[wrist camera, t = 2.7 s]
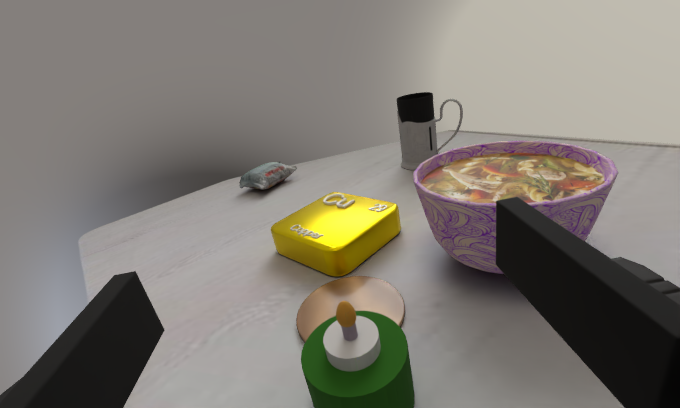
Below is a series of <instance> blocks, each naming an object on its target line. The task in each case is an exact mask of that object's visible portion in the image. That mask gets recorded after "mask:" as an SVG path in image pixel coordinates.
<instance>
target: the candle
mask: <svg viewBox="0 0 680 408" xmlns="http://www.w3.org/2000/svg"><path fill="white" fill-rule="evenodd" d="M301 363H302V369H303V372H304V376H305V379H306V382H307V385H308V388H309V392H310V395H311V398H312V401H313V404H314V408H413V407H414V389H413V381H412V374H411V367H410V359H409V352H408V345H407V340H406V337H405V334H404V333H403V331H402V329H401V328H400V327H399V326H398V324H397V323H396V322H394V321H393V320H392V319H390V318H389V317H387V316H385V315H382V314H380V313H376V312H371V311H355V309H354V308H353V306H352V305H351V304H350V303H349V302H347V301H341V302H340V303H339V304H338V306H337V310H336V316H334V317H332V318H330V319H328V320H326V321H325V322H323V323H322V324H320V325H319V326H318V327H317V328H316V329H315V330H314V331H313V332H312V333H311V334H310V336H309V337H308V339H307V340H306V342H305V344H304V347H303V350H302V356H301Z"/></svg>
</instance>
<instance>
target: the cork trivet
mask: <svg viewBox="0 0 680 408" xmlns="http://www.w3.org/2000/svg"><path fill="white" fill-rule="evenodd" d="M341 301H347V302H349V303H350V304H351V305H352V306H353V308H354V309H355V311H371V312H376V313H380V314H382V315H385V316H387V317H389V318H390V319H392V320H393V321H394V322H396V323H397V324H398V326H399V327H401V324H402V322H403V319H404V315H405V307H404V301H403V298H402V296H401V294H400V293H399V292H398V290H397V289H396V288H395V287H393V286H392V285H391V284H389V283H387V282H385V281H383V280H381V279H377V278H373V277H366V276H353V277H346V278H341V279H337V280H334V281H332V282H329V283H327V284H325V285H323V286H321V287H319V288H318V289H316V290H315V291H314V292H312V293H311V294H310V295H309V296H308V297H307V298H306V299H305V301H304V302H303V303H302V305H301V307H300V309H299V311H298V314H297V328H298V332H299V334H300V336H301V338H302V340H303V341H304V342H306V340H307V339H308V337H309V336H310V334H311V333H312V332H313V331H314V330H315V329H316V328H317V327H318V326H319V325H320V324H322V323H323V322H325V321H326V320H328V319H330V318H332V317H334V316H336V310H337V306H338V304H339V303H340V302H341Z"/></svg>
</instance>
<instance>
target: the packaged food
mask: <svg viewBox="0 0 680 408" xmlns="http://www.w3.org/2000/svg"><path fill="white" fill-rule="evenodd" d="M296 169H297V167H296V166H293V167H290V166H287V165H284V164H281V163H280V162H274V163H266V164H264V165H261V166H259V167H257V168H255V169H253V170H251V171H249V172H247V173H246V174H245V175H243V176H242V177H241V180H240V188H243V187H249V188H254V189H261V190H262V189H269V188H270V187H272V186H274V185H276V184H278V183H279V182H281V181H283V180H284V179H285V178H287V177H288V176H290V175H291V174H292V173H293V172H294V171H295V170H296Z"/></svg>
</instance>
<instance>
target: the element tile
mask: <svg viewBox="0 0 680 408" xmlns="http://www.w3.org/2000/svg"><path fill="white" fill-rule="evenodd" d="M400 230H401V226H400V218H399V210H398V206H397V205H396V204H394V203H391V202H386V201H381V200H376V199H371V198H365V197H360V196H355V195H350V194H345V193H338V192H332V193H330V194H328V195H325V196H324V197H322V198H320V199H318V200H316V201H315V202H313V203H311V204H309V205H307V206H306V207H304V208H302V209H300V210H298V211H297V212H295V213H293V214H291V215H289V216H288V217H286V218H284V219H282V220H280V221H279V222H277V223H275V224H274V225H273V226H272V227H271V233H272V236H273V239H274V243H275V246H276V249H277V251H278V253H279V254H281V255H283V256H286V257H288V258H290V259H293V260H295V261H297V262H299V263H302V264H304V265H306V266H309V267H311V268H313V269H316V270H318V271H320V272H323V273H325V274H327V275H330V276H336V277H339V276H343V275H346V274H348V273H350V272H351V271H352V270H354V269H355V268H356V267H357V266H359V265H360V264H361V263H362V262H364V261H365V260H366V259H367V258H369V257H370V256H371V255H372V254H374V253H375V252H376V251H377V250H379V249H380V248H381V247H382V246H384V245H385V244H386V243H388V242H389V241H390V240H391V239H393V238H394V237H395V236H396V235H398V234H399V232H400Z"/></svg>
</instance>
